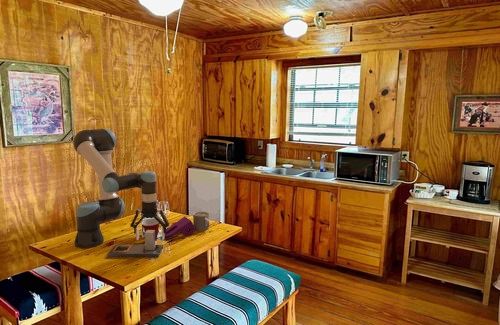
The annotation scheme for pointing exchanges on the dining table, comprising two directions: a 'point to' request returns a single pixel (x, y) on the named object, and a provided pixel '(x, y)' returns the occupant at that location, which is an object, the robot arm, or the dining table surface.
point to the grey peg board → (134, 251)
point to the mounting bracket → (180, 228)
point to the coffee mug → (201, 221)
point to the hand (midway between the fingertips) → (150, 239)
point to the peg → (150, 241)
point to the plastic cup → (151, 226)
